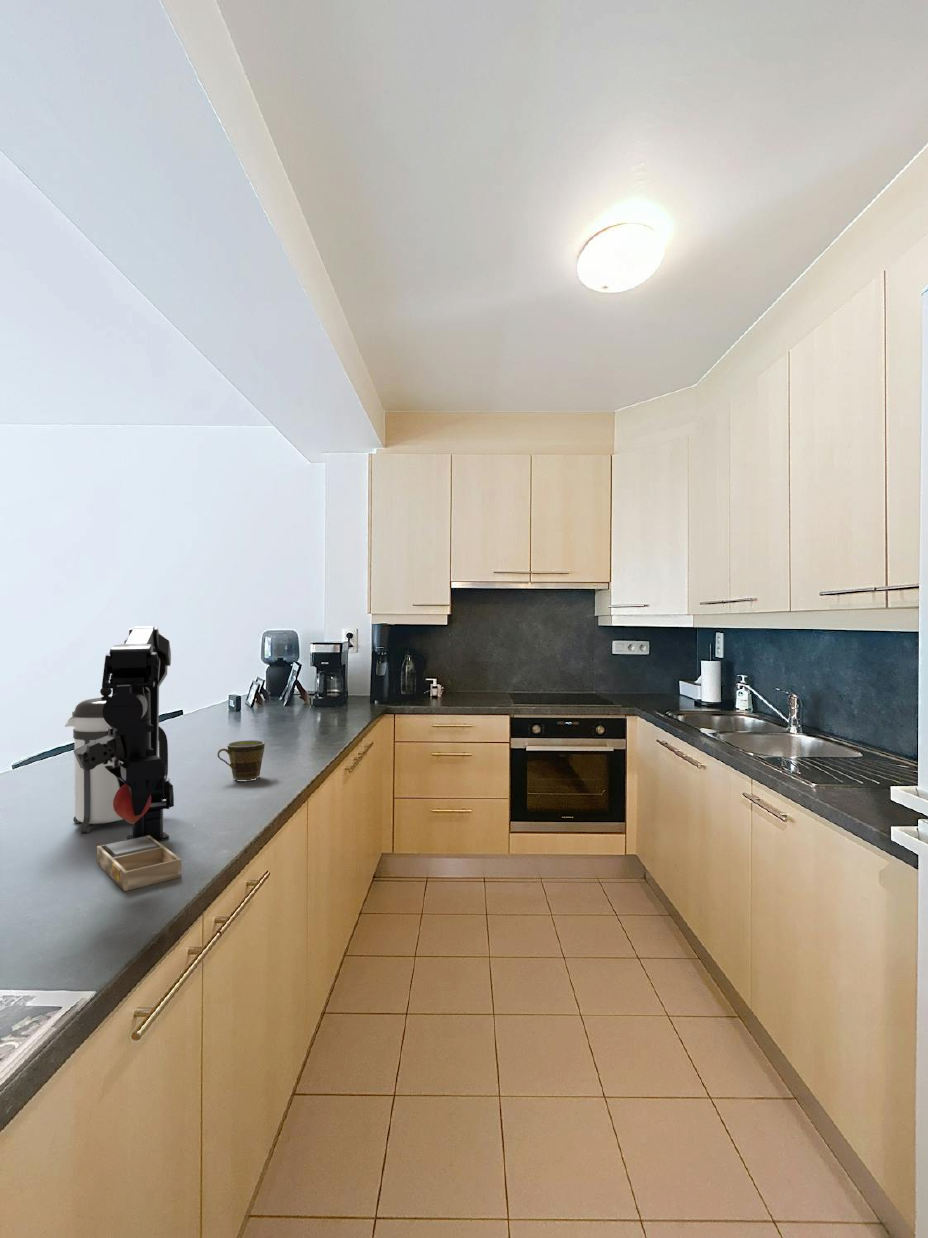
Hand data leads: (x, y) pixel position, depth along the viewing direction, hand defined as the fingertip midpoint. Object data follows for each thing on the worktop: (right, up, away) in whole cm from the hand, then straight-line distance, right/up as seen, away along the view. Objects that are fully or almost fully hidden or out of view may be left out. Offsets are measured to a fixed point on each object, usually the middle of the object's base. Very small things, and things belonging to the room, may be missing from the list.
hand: (132, 811), depth 112 cm
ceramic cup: (-6, -12, +71) cm, 72 cm away
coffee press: (-21, -12, +33) cm, 41 cm away
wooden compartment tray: (-1, -12, +4) cm, 13 cm away
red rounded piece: (0, -2, 0) cm, 2 cm away
